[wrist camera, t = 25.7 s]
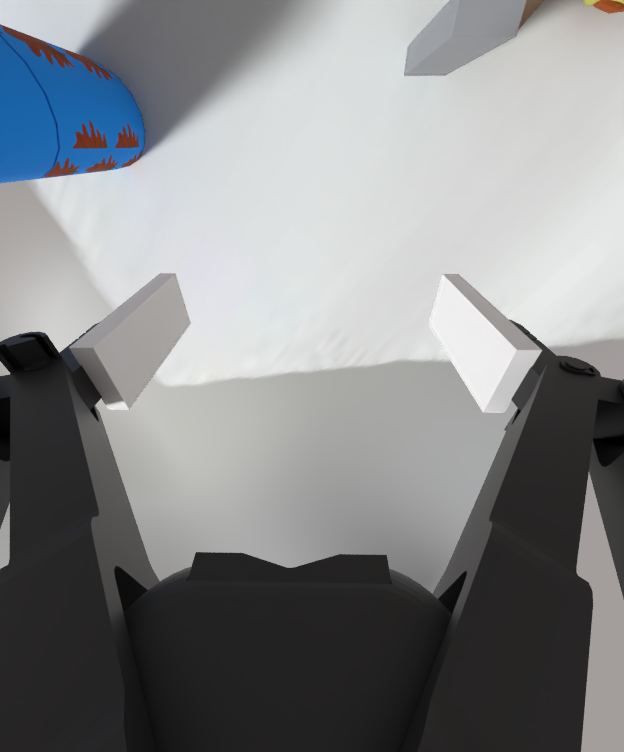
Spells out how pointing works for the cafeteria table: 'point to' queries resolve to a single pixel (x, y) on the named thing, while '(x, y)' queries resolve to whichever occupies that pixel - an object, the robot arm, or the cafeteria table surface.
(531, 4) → the door
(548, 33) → the cafeteria table surface
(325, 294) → the cafeteria table surface
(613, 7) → the cheeseburger
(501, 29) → the door frame
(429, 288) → the cafeteria table surface
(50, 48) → the thermos
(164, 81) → the cafeteria table surface
